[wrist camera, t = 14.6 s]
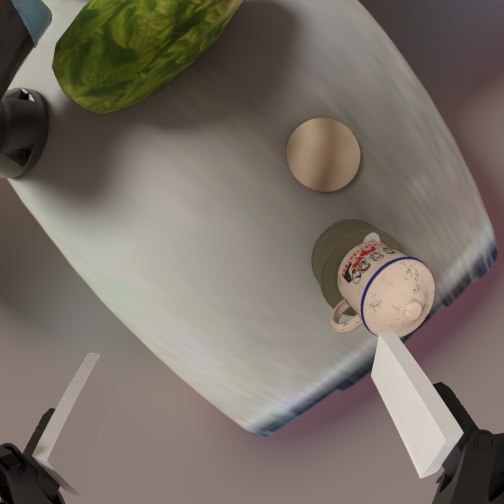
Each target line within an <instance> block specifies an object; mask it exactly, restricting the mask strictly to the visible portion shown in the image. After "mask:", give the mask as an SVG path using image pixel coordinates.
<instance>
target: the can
mask: <svg viewBox="0 0 504 504" xmlns="http://www.w3.org/2000/svg"><path fill="white" fill-rule="evenodd" d="M369 241H376V242H381V243H383V244H385V245H387V246H389V247H391V248H393V249H395V250H397V251H399V252H401V253H402V254H403V252H402V249H401V247H400V246H399V244H398V243H397V242H396V240H395V239H393V238H392V237H391V236H390V235H388V234H386V233H385V232H382V231H379V230H378V229H376V228H374V227H373V226H371V225H370V224H368V223H366V222H363V221H360V220H344V221H340V222H338V223H335V224H334V225H332V226H330V227H329V228H328V229H326V230H325V231H324V232H323V233H322V234H321V236H320V237H319V239H318V240H317V242H316V244H315V246H314V249H313V253H312V269H313V272H314V275H315V277H316V279H317V281H318V283H319V285H320V287H321V290H322V293H323V296H324V298H325V299H326V301H327V302H328V304H329V305H330V306H331V307H332V308H333V309H334V308H335V307H336V306H337V305H338V304H339V303H340V302H341V301H342V300H344V299H345V298H344V297H343V296H342V294H341V292H340V290H339V287H338V271H339V268H340V265H341V263H342V261H343V259H344V257H345V256H346V255H347V254H348V252H349V251H350V250H352V249H353V248H354V247H356V246H357V245H359V244H361V243H364V242H369ZM342 314H345V315H349V316H356V315H357V312H356V311H355V310H354V309H353V308H352V307H349V308H348V309H347V310H346V311H344V312H343V313H342Z"/></svg>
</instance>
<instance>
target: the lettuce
mask: <svg viewBox="0 0 504 504" xmlns="http://www.w3.org/2000/svg"><path fill="white" fill-rule="evenodd" d="M243 1H244V0H90V1H89V2H88V3H87V4H86V5H85V6H84V7H83V9H82V10H81V11H80V13H79V14H78V15H77V17H76V18H75V19H74V21H73V22H72V23H71V25H70V26H69V27H68V29H67V30H66V31H65V32H64V34H63V35H62V36H61V38H60V39H59V40H58V42H57V43H56V47H55V52H54V58H53V64H52V69H53V71H54V74H55V77H56V79H57V81H58V83H59V85H60V87H61V89H62V90H63V92H64V93H65V94H66V95H67V96H68V97H69V98H70V99H71V100H72V101H73V102H75V103H76V104H78V105H79V106H81V107H83V108H86V109H88V110H90V111H92V112H95V113H107V112H113V111H119V110H122V109H125V108H127V107H129V106H132V105H134V104H137V103H139V102H142V101H144V100H145V99H146V98H148V97H149V96H151V95H152V94H154V93H155V92H157V91H158V90H160V89H161V88H162V87H163V86H165V85H166V84H167V83H168V82H169V81H170V80H171V79H172V78H173V77H175V76H176V75H177V74H178V73H179V72H181V71H182V70H183V69H185V68H186V67H187V66H189V65H190V64H192V63H193V62H194V61H196V60H197V59H198V58H199V57H200V56H201V55H202V54H203V53H204V52H206V51H207V50H208V48H209V47H210V46H211V45H212V44H213V43H214V42H215V41H216V39H217V38H218V37H219V36H220V34H221V33H222V32H223V30H224V29H225V28H226V26H227V25H228V23H229V21H230V20H231V18H232V16H233V14H234V13H235V11H236V10H237V9H238V7H239V6H240V5H241V4H242V2H243Z"/></svg>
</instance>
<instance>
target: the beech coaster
mask: <svg viewBox="0 0 504 504" xmlns="http://www.w3.org/2000/svg"><path fill="white" fill-rule="evenodd" d="M286 157H287V162H288V166H289V168H290V170H291V172H292V174H293V175H294V177H295V178H296V179H297V180H298V181H299V182H300V183H301V184H303V185H305V186H306V187H308V188H310V189H312V190H315V191H320V192H331V191H335V190H338V189H340V188H342V187H344V186H345V185H347V184H348V183H349V182H350V181H351V180H352V179H353V178H354V176H355V174H356V173H357V170H358V168H359V164H360V148H359V144H358V142H357V139H356V137H355V136H354V134H353V133H352V132H351V130H350V129H349V128H348V127H347V126H345V125H344V124H343V123H341V122H339V121H337V120H334V119H330V118H315V119H311V120H309V121H307V122H305V123H303V124H301V125H300V126H299V127H298V128H296V129H295V131H294V132H293V133H292V135H291V136H290V139H289V141H288V144H287V150H286Z"/></svg>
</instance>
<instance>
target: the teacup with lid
mask: <svg viewBox="0 0 504 504" xmlns="http://www.w3.org/2000/svg"><path fill="white" fill-rule="evenodd" d="M338 287H339V290H340V292H341V294H342V296H343V297H344V298H345V299H344V300H342V301H341V302H340V303H339V304H338V305H337V306H336V307H335V308H334V309H333V311H332V313H331V316H330V323H331V326H332V327H333V329H334V330H335V331H336V332H338V333H346V332H350V331H352V330H354V329H355V328H357V327H358V326H360V325H361V324H362V323H364V325H365V326H366V328H367V329H368V330H369V331H370V332H371V333H372V334H374V335H376V336H378V337H379V333H383V332H389V331H394V332H395V333H396V335H397V336H398V337H402V336H405V335H407V334H409V333H410V332H412V331H413V330H415V329H416V328H417V327H418V326H419V325H420V324H421V323H422V322H423V321H424V319H425V318H426V317H427V315H428V313H429V311H430V309H431V307H432V304H433V301H434V296H435V284H434V279H433V276H432V274H431V272H430V270H429V268H428V267H427V266H426V265H425V264H424V263H423V262H422V261H420V260H419V259H416V258H413V257H408V256H406V255H404V254H402V253H401V252H399V251H397V250H395V249H393V248H391V247H389V246H387V245H385V244H383V243H381V242H376V241H369V242H364V243H361V244H359V245H357V246H356V247H354V248H353V249H352V250H350V251H349V252H348V254H347V255H346V256H345V257H344V259H343V261H342V263H341V265H340V268H339V271H338ZM349 307H352V308H353V309H354V310H355V311H356V312H357V315H356V316H354V317H353V318H351V319H350V320H348V321H346V322H344V323H338V322H339V318H340V316H341V315H342V313H343V312H344V311H346V310H347V309H348V308H349Z"/></svg>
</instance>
